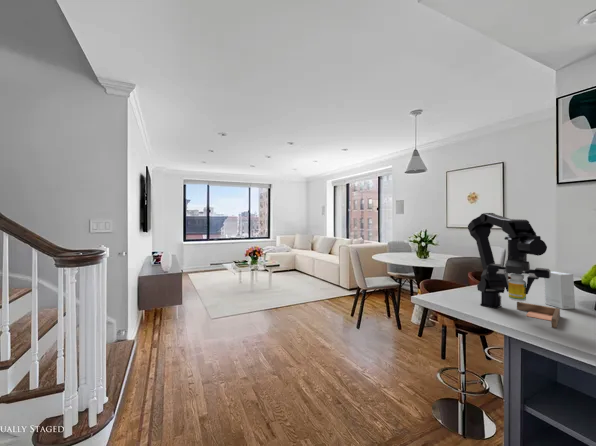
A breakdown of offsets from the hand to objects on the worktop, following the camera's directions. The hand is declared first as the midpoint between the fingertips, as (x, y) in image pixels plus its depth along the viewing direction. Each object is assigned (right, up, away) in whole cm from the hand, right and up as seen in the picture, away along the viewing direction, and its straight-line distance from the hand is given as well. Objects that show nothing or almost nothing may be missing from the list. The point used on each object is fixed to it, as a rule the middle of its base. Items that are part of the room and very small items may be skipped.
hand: (517, 292), depth 106 cm
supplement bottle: (0, -3, 0) cm, 3 cm away
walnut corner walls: (+8, -10, +2) cm, 13 cm away
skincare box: (+30, -10, +15) cm, 35 cm away
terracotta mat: (+11, -10, +3) cm, 15 cm away
